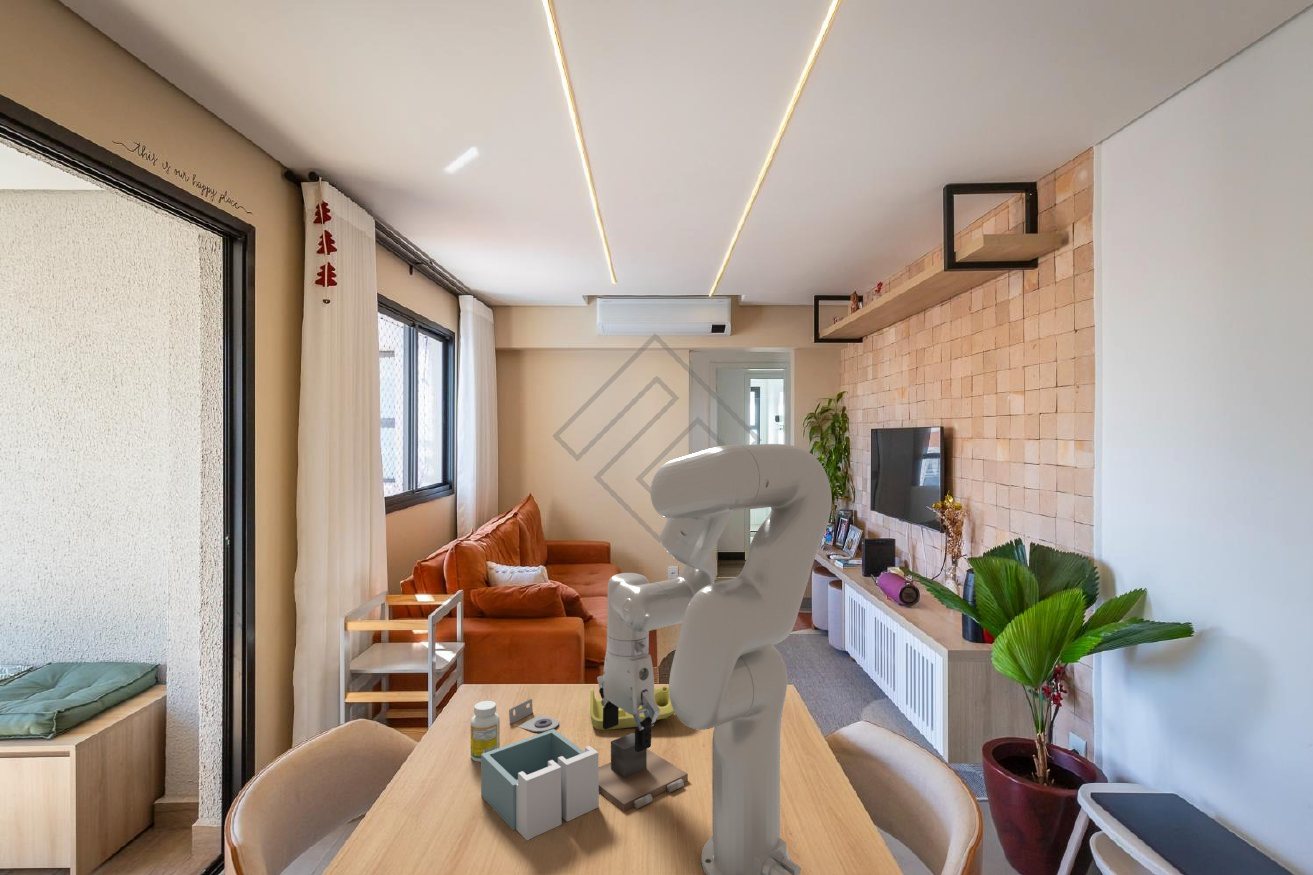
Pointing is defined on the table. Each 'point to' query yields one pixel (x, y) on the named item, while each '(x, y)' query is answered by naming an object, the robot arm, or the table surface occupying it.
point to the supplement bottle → (484, 729)
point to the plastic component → (625, 718)
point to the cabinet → (540, 782)
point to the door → (636, 775)
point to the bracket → (532, 724)
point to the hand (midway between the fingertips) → (626, 737)
